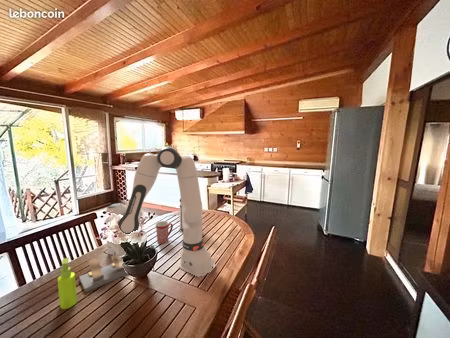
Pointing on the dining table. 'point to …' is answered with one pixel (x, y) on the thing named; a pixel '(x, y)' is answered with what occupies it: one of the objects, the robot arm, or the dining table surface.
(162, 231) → the mug
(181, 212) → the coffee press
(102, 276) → the latch
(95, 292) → the dining table surface
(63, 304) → the soap dispenser
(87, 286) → the board
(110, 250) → the syrup box
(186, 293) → the dining table surface
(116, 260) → the latch
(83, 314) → the dining table surface
